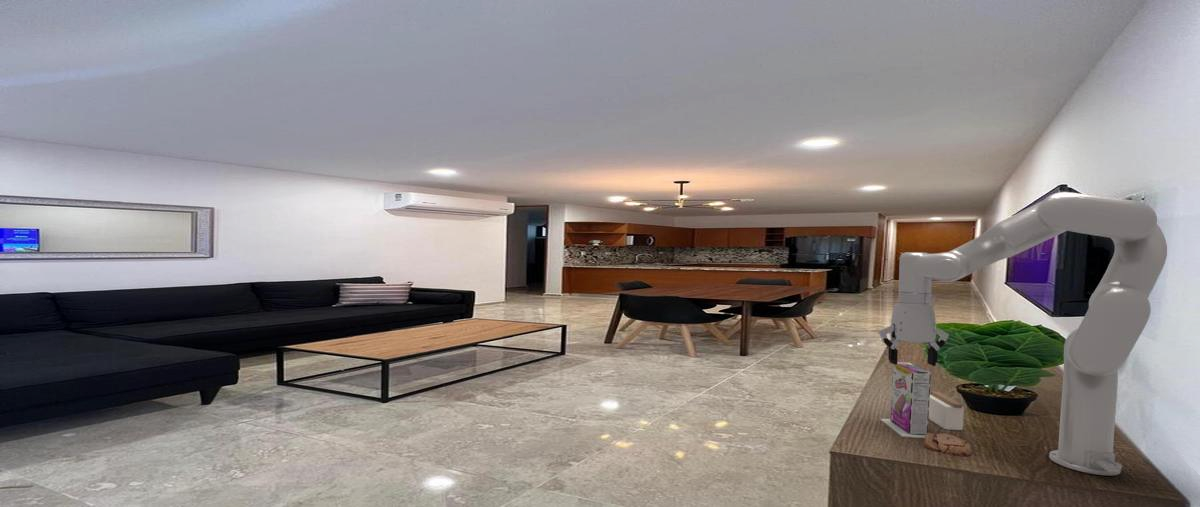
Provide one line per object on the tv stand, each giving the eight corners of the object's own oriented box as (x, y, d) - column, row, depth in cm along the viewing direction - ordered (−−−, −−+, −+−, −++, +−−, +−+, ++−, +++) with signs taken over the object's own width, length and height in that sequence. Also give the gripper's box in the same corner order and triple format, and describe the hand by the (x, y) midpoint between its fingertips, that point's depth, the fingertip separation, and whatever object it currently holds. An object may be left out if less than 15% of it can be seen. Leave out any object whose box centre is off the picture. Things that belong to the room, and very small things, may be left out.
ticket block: (963, 430, 156) (965, 404, 156) (942, 429, 156) (944, 403, 156) (939, 415, 169) (940, 391, 168) (920, 414, 169) (921, 390, 169)
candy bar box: (888, 420, 161) (892, 361, 160) (907, 421, 161) (910, 362, 160) (908, 434, 150) (912, 370, 149) (928, 435, 150) (932, 371, 149)
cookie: (961, 460, 135) (961, 447, 135) (914, 445, 144) (915, 433, 143) (980, 452, 141) (981, 440, 141) (934, 439, 149) (934, 427, 149)
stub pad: (935, 439, 148) (935, 437, 148) (902, 436, 149) (902, 435, 149) (910, 421, 162) (910, 420, 162) (880, 419, 163) (880, 418, 163)
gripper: (941, 298, 157) (939, 362, 158) (874, 297, 159) (872, 360, 159) (956, 301, 150) (954, 368, 150) (886, 299, 151) (884, 365, 151)
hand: (912, 364), depth 155 cm, fingers open, 9 cm apart
